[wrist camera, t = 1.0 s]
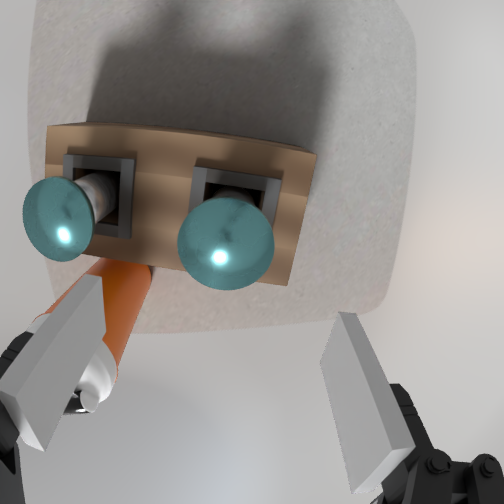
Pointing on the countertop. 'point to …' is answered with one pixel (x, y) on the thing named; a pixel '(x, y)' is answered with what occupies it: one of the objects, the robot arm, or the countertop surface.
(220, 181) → the socket block
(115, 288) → the shaker bottle
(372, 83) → the countertop surface
